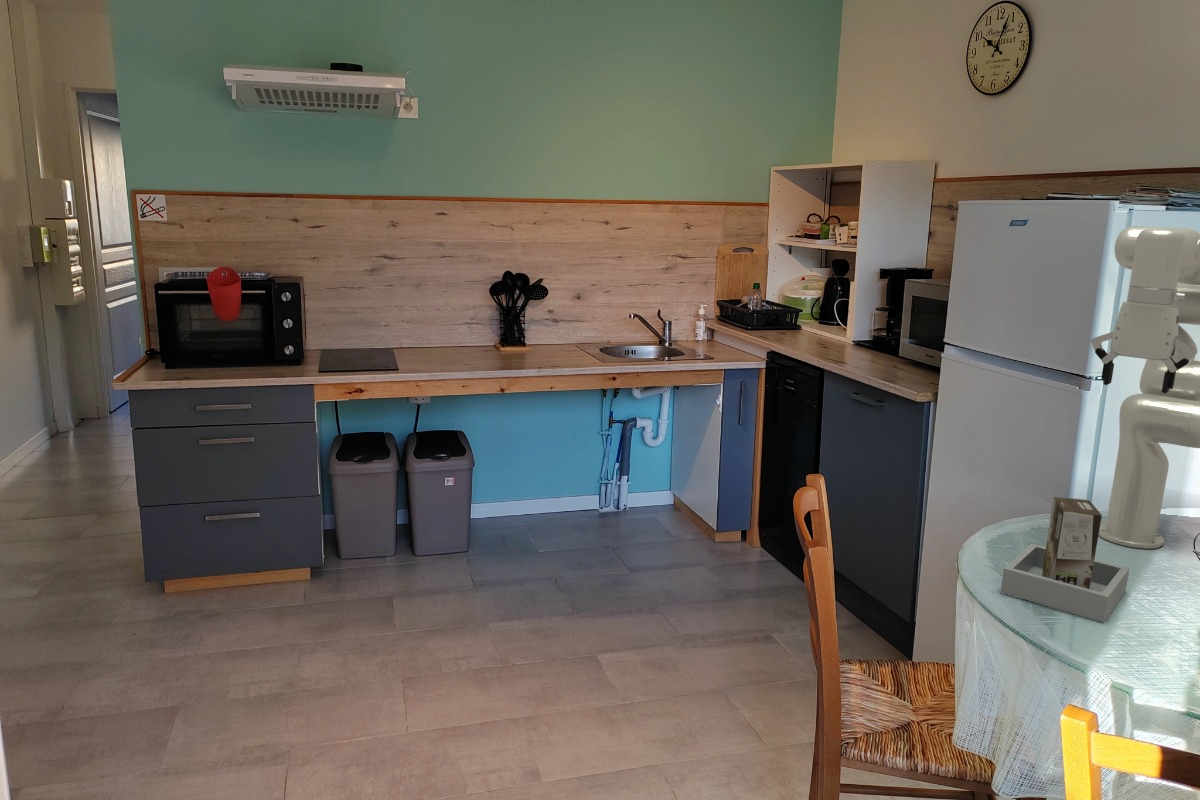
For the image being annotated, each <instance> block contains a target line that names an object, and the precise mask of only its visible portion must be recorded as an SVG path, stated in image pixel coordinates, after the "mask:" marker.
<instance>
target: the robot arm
mask: <svg viewBox="0 0 1200 800" xmlns="http://www.w3.org/2000/svg"><path fill="white" fill-rule="evenodd" d="M1114 256H1115V259H1116V262H1117V263H1118V264H1119V266H1121V267H1122V268H1125V269H1128V270H1131V273H1130V280H1129V285H1128V290H1127V291H1128V292H1127V298H1126V301H1123V302H1122V303H1121V306H1120V308H1119V311H1118V313H1117V318H1116V321H1115V326H1114V328H1113V331H1111V332H1108V333H1105V334H1101V335H1099V336H1096V337H1093V338H1091V339H1090V342H1091V345H1092V347H1093V349H1094V354H1096V356H1097V357H1098V358H1099V360H1101V363H1102V365H1103V366H1102V371H1101V380H1103V385H1104V386H1108V385H1110V384H1111V383H1112V381H1113V374H1114V370H1115V369H1114V368H1115V363H1114V362H1113V361H1114V359H1116V358H1117V357H1118V356H1121V357H1125V358H1126V357H1128V358H1135V359H1136V358H1137V359H1143V360H1144V359H1145V360H1146V361H1145V364H1144V366H1143V368H1142V369H1143V370H1142V372H1141V376H1140V379H1139V390H1140V392H1141V393H1136V394H1132V395H1128V396H1127V397H1126V398H1125V399H1124V400H1123V401H1122V403H1121V405H1120V408H1119V414H1118V415H1119V417H1118V418H1119V423H1118V424H1119V434H1118V435H1119V437H1118V440H1119V441H1118V450H1117V455H1116V457H1117V458H1116V463H1115V469H1114V475H1113V479H1112V480H1113V481H1112V485H1111V486H1112V487H1111V492H1110V493H1111V494H1110V499H1109V505H1108V511H1107V516H1106V523H1100V529H1099V535H1098V537H1100V538H1102V539H1104V540H1106V541H1108V542H1111V543H1113V544H1117V545H1121V546H1125V547H1128V548H1136V549H1143V550H1144V549H1146V550H1147V549H1149V550H1152V549H1159V548H1161V547H1160V546H1162V545H1163V546H1164V543H1165V538H1164V537H1163V536H1162V535H1161V534H1159V533H1158V528H1159V522H1160V516H1161V512H1162V508H1163V507H1162V506H1163V500H1164V496H1165V490H1166V484H1167V478H1168V474H1169V466H1170V463H1169V459H1168V457H1167V454H1166V452H1165V451H1164V449H1163V448H1162V446H1161V444H1169V445H1175V446H1181V447H1187V448H1191V449H1192V448H1193V449H1200V360H1195V359H1196V355H1197V354H1198V352H1199V351H1198V346H1197V345H1196V342H1195V341H1194V339H1193V338H1192V336H1191V335H1190V334H1189V333H1188V331H1187V330H1185V329H1184V328H1183V327H1182V326H1181V325H1180V324H1183V325H1184V324H1186V325H1192V326H1200V233H1199V232H1198V231H1197V230H1195V229H1192V228H1186V227H1185V228H1183V227H1162V226H1161V227H1160V226H1140V225H1139V226H1134V225H1133V226H1127V227H1125V228H1123V229H1122V230H1121V231H1120V232H1119V234H1118V236H1117V237H1116V240H1115V244H1114ZM1110 340H1111V342H1110V352H1109V353H1107V351H1106V350H1105V349H1104V348H1103V344H1102V343H1104V342H1107V341H1110ZM1163 546H1162V547H1163ZM1158 547H1159V548H1158Z"/></svg>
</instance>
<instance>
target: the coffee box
mask: <svg viewBox="0 0 1200 800" xmlns="http://www.w3.org/2000/svg"><path fill="white" fill-rule="evenodd" d="M1052 498H1053V499H1052V503H1051V504H1052V506H1051V512H1050V517H1049V524H1048V530H1047V531H1048V532H1047V539H1046V546H1045V547H1046V552H1045V559H1044V566H1043V573H1042V576H1043V577H1046V578H1050V579H1054V580H1057V581H1061V582H1065V583H1068V584H1072V585H1076V586H1079V587H1083V588H1087V589H1089V588H1090V582H1091V577H1092V571H1093V564H1094V559H1096V552H1097V546H1098V540H1099V529H1100V525H1101V524H1102V523H1101V522H1102V517H1103V515H1102V514H1101V512H1100V511H1099V510H1098V509H1097V508H1096V506H1095V505H1094V504H1093V503H1092V502H1091V500H1089V499H1081V498H1072V497H1071V498H1069V497H1067V498H1066V497H1056V496H1053V497H1052Z"/></svg>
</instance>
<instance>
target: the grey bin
mask: <svg viewBox="0 0 1200 800" xmlns="http://www.w3.org/2000/svg"><path fill="white" fill-rule="evenodd" d="M1045 552H1046V546H1044V545H1043V546H1042V545H1039V544H1035V543H1030V545H1028V546H1027V547H1026V548H1025V549H1024V550H1022V551H1021V552H1020V553H1019V554H1018V555H1017V556H1015V558H1014V559H1013V560H1012V561H1010V562H1009V563H1008V564H1007V565H1006V566H1005V567H1004V568H1003V574H1002V579H1001V588H1000V593H1001V592H1003V593H1005V594H1004V595H1006V594H1010V595H1013V596H1017V597H1020V598H1023V599H1026V600H1029V601H1028V602H1030V601H1032V602H1031V603H1033V602H1035V603H1034V604H1037V603H1038V605H1040V604H1041V605H1040V606H1044V607H1047V606H1048V607H1047V608H1051V609H1054V610H1058V611H1062V612H1064V613H1069V614H1072V615H1075V616H1078V617H1082V618H1086V619H1088V620H1092V621H1096V622H1099V623H1102V624H1104V623H1105V622H1106V621H1107V619H1108V618H1109V616H1111V613H1112V612H1113V611H1114V609H1115V608H1116V606H1117V605H1118V604H1119V602H1120V601H1121V599H1122V598H1123V596H1124V595H1125V594H1126V591H1127V585H1128V580H1129V579H1128V578H1129V574H1130V567H1126V566H1122V565H1118V564H1114V563H1111V562H1106V561H1103V560H1098V559H1096V558H1094V564H1093V571H1092V577H1091V582H1090V588H1089V589H1087V588H1083V587H1079V586H1076V585H1072V584H1068V583H1065V582H1061V581H1057V580H1054V579H1050V578H1046V577H1043V576H1042V573H1043V566H1044V559H1045ZM1013 596H1012V597H1013ZM1020 598H1019V599H1020ZM1023 599H1022V600H1023ZM1026 600H1025V601H1026Z"/></svg>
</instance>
